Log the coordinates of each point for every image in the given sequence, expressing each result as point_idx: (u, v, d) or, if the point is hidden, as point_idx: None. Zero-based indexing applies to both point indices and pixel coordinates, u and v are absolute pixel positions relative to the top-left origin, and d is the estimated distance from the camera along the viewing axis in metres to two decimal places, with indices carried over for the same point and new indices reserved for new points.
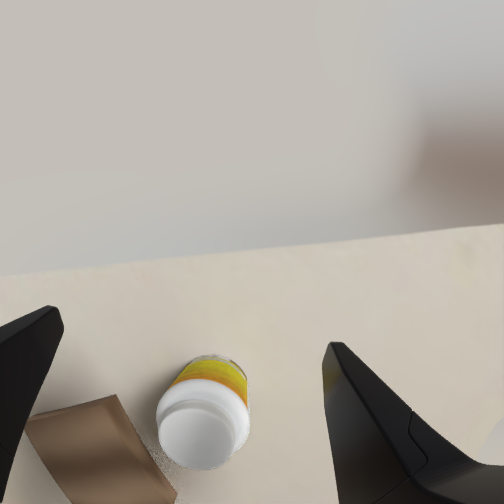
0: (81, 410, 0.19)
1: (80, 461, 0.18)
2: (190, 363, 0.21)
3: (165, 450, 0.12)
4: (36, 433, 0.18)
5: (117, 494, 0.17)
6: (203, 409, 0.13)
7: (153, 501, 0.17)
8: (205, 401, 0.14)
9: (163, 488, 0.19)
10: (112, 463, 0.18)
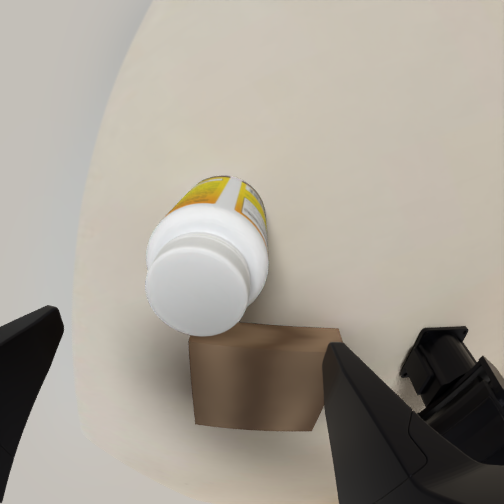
0: (190, 363, 0.22)
1: (247, 397, 0.23)
2: None
3: (195, 334, 0.11)
4: (208, 417, 0.25)
5: (299, 387, 0.23)
6: (154, 261, 0.10)
7: None
8: (161, 249, 0.11)
9: (319, 340, 0.22)
10: (259, 370, 0.22)
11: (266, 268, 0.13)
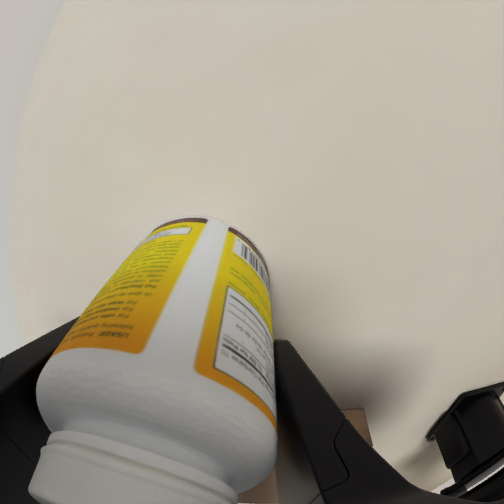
0: None
1: None
2: None
3: None
4: None
5: None
6: None
7: None
8: None
9: None
10: None
11: (273, 463, 0.05)
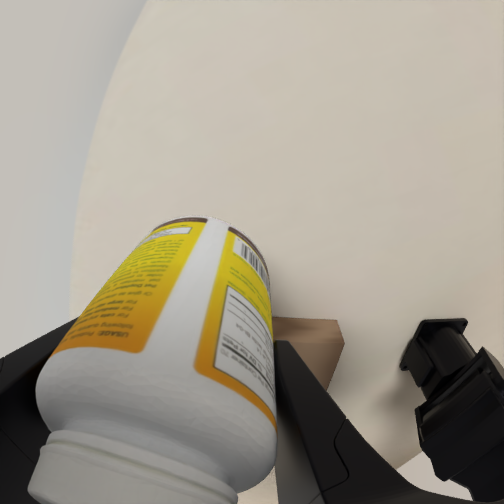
0: None
1: None
2: None
3: None
4: None
5: None
6: (29, 483, 0.02)
7: (323, 352, 0.21)
8: None
9: (317, 331, 0.22)
10: None
11: (272, 463, 0.05)
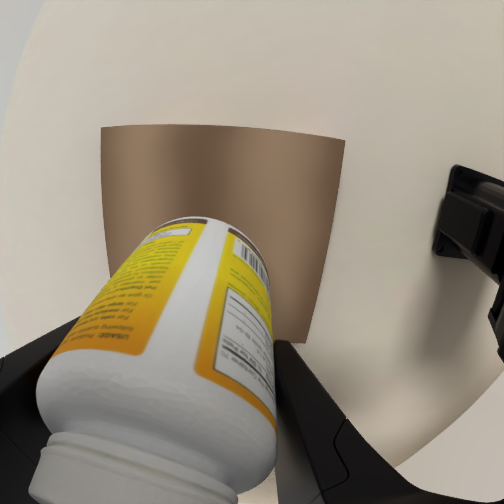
0: (102, 174, 0.13)
1: None
2: None
3: None
4: None
5: (275, 220, 0.14)
6: (30, 485, 0.02)
7: (312, 157, 0.13)
8: (47, 443, 0.03)
9: None
10: (203, 174, 0.13)
11: (272, 465, 0.05)
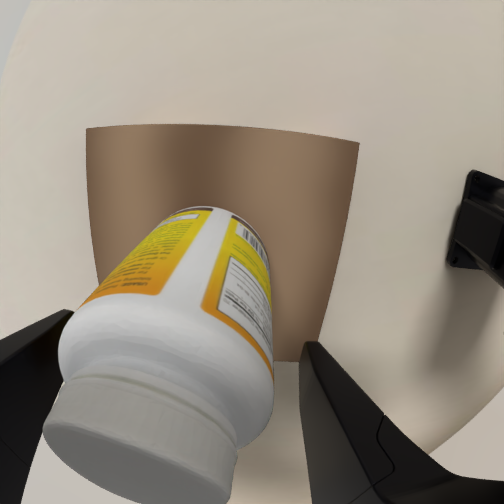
0: (88, 180, 0.12)
1: None
2: None
3: None
4: None
5: (280, 232, 0.13)
6: (45, 420, 0.04)
7: (322, 161, 0.11)
8: None
9: None
10: (198, 181, 0.12)
11: (269, 409, 0.06)
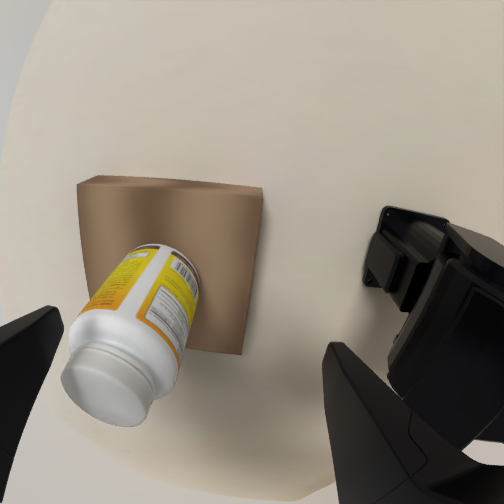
0: (79, 220, 0.17)
1: None
2: None
3: (111, 423, 0.10)
4: None
5: (207, 261, 0.18)
6: None
7: (234, 213, 0.17)
8: None
9: (230, 189, 0.18)
10: (152, 226, 0.17)
11: (172, 370, 0.12)
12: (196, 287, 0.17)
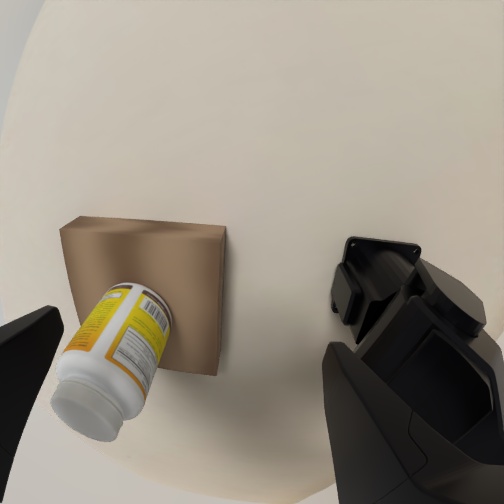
0: (65, 259, 0.19)
1: None
2: None
3: (92, 438, 0.12)
4: None
5: (176, 297, 0.20)
6: None
7: (196, 256, 0.18)
8: None
9: (192, 232, 0.19)
10: (126, 266, 0.19)
11: (137, 399, 0.13)
12: (166, 321, 0.19)
